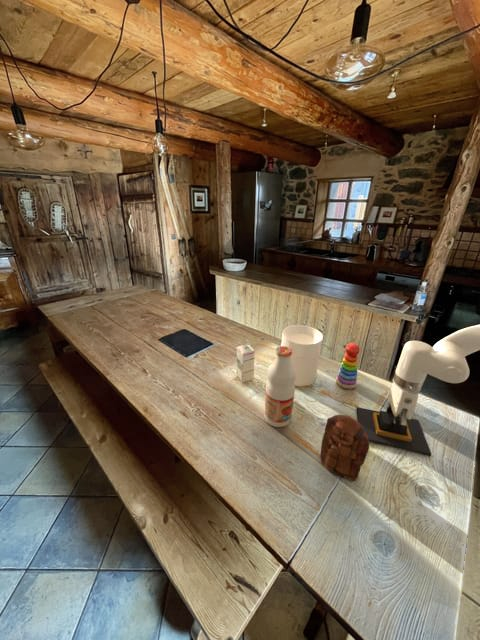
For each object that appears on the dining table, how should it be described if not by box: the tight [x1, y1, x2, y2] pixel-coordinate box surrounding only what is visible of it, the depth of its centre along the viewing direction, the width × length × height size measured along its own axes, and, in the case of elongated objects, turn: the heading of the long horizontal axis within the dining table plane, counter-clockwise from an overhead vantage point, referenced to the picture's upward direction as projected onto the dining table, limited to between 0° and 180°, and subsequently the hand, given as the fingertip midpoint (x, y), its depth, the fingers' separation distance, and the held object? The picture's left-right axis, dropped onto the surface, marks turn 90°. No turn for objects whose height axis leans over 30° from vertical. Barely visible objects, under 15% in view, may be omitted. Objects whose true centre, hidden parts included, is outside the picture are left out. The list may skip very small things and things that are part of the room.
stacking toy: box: [335, 342, 361, 390], centre depth 106 cm, size 8×8×19 cm
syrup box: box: [236, 343, 256, 383], centre depth 110 cm, size 6×6×14 cm
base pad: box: [356, 406, 432, 457], centre depth 88 cm, size 20×14×2 cm
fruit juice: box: [263, 345, 296, 428], centre depth 87 cm, size 9×9×28 cm
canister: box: [280, 324, 324, 387], centre depth 111 cm, size 16×16×20 cm
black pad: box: [379, 410, 407, 434], centre depth 87 cm, size 7×6×3 cm
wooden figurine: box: [319, 414, 370, 482], centre depth 73 cm, size 12×6×18 cm, turn 56°
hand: (391, 423), depth 88 cm, fingers closed on black pad, 5 cm apart
